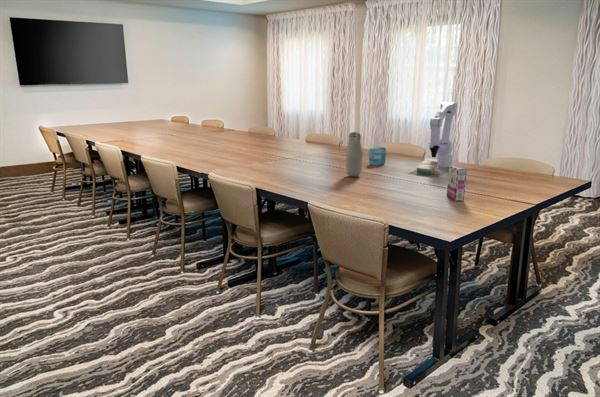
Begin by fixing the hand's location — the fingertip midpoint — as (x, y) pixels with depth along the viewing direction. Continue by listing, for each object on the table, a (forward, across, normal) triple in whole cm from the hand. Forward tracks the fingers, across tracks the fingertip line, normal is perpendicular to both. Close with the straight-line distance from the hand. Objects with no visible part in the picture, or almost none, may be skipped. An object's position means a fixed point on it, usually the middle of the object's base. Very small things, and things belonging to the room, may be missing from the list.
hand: (433, 157), depth 305 cm
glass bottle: (+9, +44, -36) cm, 57 cm away
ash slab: (+4, +6, 0) cm, 7 cm away
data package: (+10, -2, -42) cm, 43 cm away
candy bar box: (+9, +63, +34) cm, 72 cm away
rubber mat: (+9, +9, 0) cm, 13 cm away
